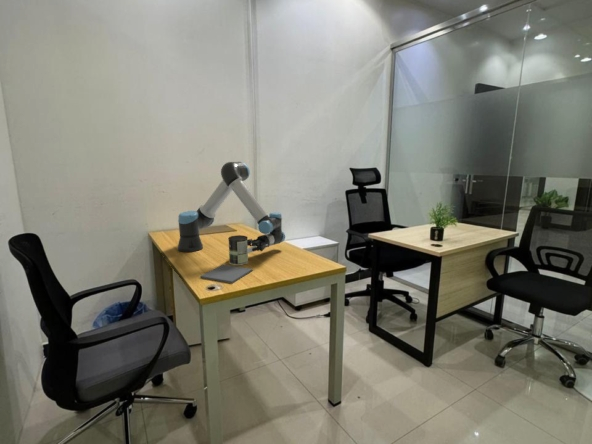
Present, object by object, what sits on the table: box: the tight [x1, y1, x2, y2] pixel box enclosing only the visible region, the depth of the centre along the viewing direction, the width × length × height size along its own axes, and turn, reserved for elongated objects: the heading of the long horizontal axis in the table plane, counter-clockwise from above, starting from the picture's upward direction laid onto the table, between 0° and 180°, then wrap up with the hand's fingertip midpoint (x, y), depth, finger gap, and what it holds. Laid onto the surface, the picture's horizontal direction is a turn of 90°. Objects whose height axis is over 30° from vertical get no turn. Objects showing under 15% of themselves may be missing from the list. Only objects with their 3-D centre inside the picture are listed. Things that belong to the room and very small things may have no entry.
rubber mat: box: [200, 264, 254, 284], centre depth 153 cm, size 18×18×1 cm
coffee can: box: [227, 234, 249, 266], centre depth 170 cm, size 10×10×14 cm
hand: (238, 248), depth 169 cm, fingers open, 13 cm apart
